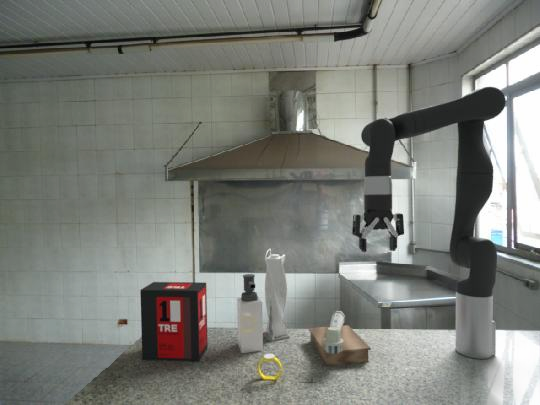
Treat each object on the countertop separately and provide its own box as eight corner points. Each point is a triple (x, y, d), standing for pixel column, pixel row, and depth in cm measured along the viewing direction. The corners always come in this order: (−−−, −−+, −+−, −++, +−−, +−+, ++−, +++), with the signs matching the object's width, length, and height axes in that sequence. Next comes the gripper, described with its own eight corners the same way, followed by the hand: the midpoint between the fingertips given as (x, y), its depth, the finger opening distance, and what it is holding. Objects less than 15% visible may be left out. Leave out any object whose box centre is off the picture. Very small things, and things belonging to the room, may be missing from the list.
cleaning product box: (142, 359, 103) (140, 290, 102) (155, 346, 112) (153, 281, 111) (199, 361, 101) (197, 290, 101) (207, 347, 110) (206, 282, 110)
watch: (258, 382, 91) (255, 358, 90) (259, 376, 93) (257, 353, 93) (281, 381, 90) (279, 358, 90) (282, 375, 93) (280, 352, 93)
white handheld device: (346, 310, 118) (342, 328, 94) (346, 331, 118) (342, 354, 94) (330, 309, 120) (322, 326, 96) (330, 330, 119) (322, 352, 95)
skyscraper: (258, 332, 121) (257, 249, 120) (280, 328, 125) (279, 247, 124) (270, 342, 114) (269, 253, 113) (292, 337, 117) (291, 250, 116)
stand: (348, 337, 116) (348, 325, 116) (370, 362, 99) (370, 347, 99) (308, 340, 114) (308, 328, 114) (325, 366, 97) (324, 351, 97)
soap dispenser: (242, 356, 104) (241, 280, 103) (237, 344, 112) (236, 273, 112) (264, 353, 105) (263, 278, 105) (258, 341, 114) (257, 272, 113)
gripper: (358, 193, 96) (359, 254, 97) (409, 192, 98) (409, 252, 99) (348, 193, 103) (349, 250, 104) (395, 192, 106) (395, 248, 106)
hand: (378, 251), depth 101 cm, fingers open, 8 cm apart
